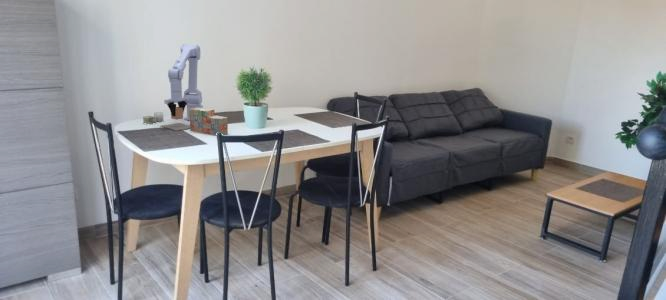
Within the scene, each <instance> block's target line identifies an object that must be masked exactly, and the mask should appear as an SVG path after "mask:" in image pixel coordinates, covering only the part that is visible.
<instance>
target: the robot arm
mask: <svg viewBox="0 0 666 300" xmlns="http://www.w3.org/2000/svg"><path fill="white" fill-rule="evenodd" d="M200 59H201V47H200V46H199V45H198V44H181V46H180V57H179V59H176V61H175V62H174V64H173V66H172V68H170V69H168V73H167V76H168V80H169V83H170V95H171V96H170V98H168V99H164V104H166V105H167V107H168V109H169V112H170V115H171V114H172V116H175V109H176V107H181V108H183V113H184V111H185V108H186V118H184V117H183V119H184V120H185V121H189V122H190V116H189V115H190V114H189V109H192V108H204V106H203V105H202V102H203V97H202V91H201V90H199V89H198V63H199V60H200ZM187 62H188V84H187V85H188V87H187V88H186V89H185V90H184V91H183V88H182V87H183V86H182V85H183V83H182V80H183V78H184V71H185V69H186V66H187ZM176 103H177V104H176ZM177 105H178V106H177Z"/></svg>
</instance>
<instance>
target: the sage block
mask: <svg viewBox="0 0 666 300" xmlns="http://www.w3.org/2000/svg"><path fill="white" fill-rule="evenodd" d="M142 122H143V124H144V123H146V124H145V125H147V124H150V125H154V124H153V123H156V124H157V122H156V117H154V115H146V116H142Z"/></svg>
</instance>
